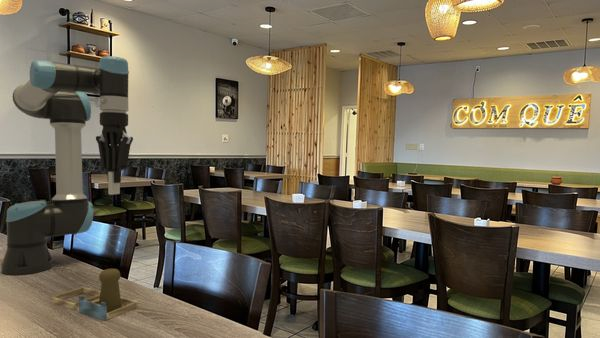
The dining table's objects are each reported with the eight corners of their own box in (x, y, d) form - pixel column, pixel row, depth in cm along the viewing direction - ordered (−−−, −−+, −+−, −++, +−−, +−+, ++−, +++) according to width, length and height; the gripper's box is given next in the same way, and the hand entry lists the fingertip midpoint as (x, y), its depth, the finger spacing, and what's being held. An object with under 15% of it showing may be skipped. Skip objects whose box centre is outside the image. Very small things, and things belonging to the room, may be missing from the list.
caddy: (48, 303, 118) (48, 287, 118) (83, 291, 128) (83, 277, 128) (104, 320, 108) (104, 303, 108) (138, 306, 117) (138, 291, 117)
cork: (112, 315, 112) (112, 273, 111) (92, 312, 113) (92, 272, 112) (126, 306, 117) (126, 267, 117) (107, 304, 119) (107, 265, 118)
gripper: (87, 111, 121) (87, 193, 122) (118, 110, 115) (118, 197, 116) (109, 113, 128) (109, 191, 129) (140, 113, 122) (140, 194, 123)
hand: (114, 193), depth 123 cm, fingers closed
